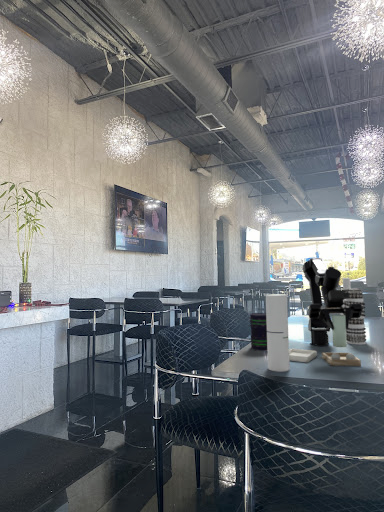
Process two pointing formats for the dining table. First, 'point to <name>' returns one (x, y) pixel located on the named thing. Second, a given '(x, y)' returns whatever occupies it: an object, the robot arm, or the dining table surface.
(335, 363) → the wooden tray
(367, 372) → the dining table surface
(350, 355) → the pebble
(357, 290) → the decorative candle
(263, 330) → the storage jar
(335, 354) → the white ball
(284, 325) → the cylindrical container
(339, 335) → the sage green tall cylinder
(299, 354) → the white tray
